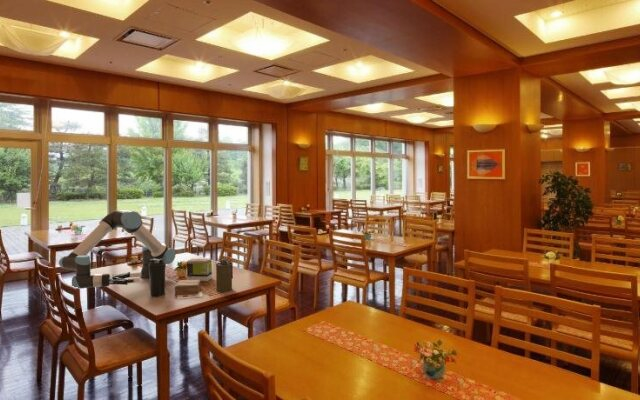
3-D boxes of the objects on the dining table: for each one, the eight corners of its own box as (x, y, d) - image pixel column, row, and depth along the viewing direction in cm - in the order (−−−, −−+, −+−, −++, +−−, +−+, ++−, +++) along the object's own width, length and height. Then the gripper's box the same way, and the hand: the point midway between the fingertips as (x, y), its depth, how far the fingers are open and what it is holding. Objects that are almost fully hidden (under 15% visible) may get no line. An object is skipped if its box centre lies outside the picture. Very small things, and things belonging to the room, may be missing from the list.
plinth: (178, 289, 263) (178, 280, 263) (200, 288, 266) (200, 279, 265) (175, 295, 249) (174, 286, 249) (198, 294, 252) (197, 284, 251)
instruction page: (177, 294, 252) (177, 293, 252) (201, 292, 257) (201, 291, 257) (176, 299, 243) (176, 298, 243) (202, 296, 248) (202, 296, 248)
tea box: (212, 278, 291) (212, 258, 290) (207, 281, 281) (206, 261, 280) (192, 277, 292) (192, 257, 291) (186, 281, 282) (186, 260, 281)
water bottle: (152, 292, 256) (151, 257, 254) (168, 292, 257) (167, 257, 255) (146, 297, 246) (145, 261, 244) (163, 297, 247) (162, 260, 245)
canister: (219, 293, 255) (219, 262, 254) (213, 289, 264) (213, 259, 262) (235, 290, 262) (235, 260, 260) (229, 286, 270) (228, 257, 268)
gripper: (105, 281, 251) (142, 278, 259) (98, 292, 228) (139, 288, 235) (105, 269, 251) (141, 266, 258) (98, 279, 227) (138, 276, 235)
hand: (140, 277), depth 247 cm, fingers open, 13 cm apart
